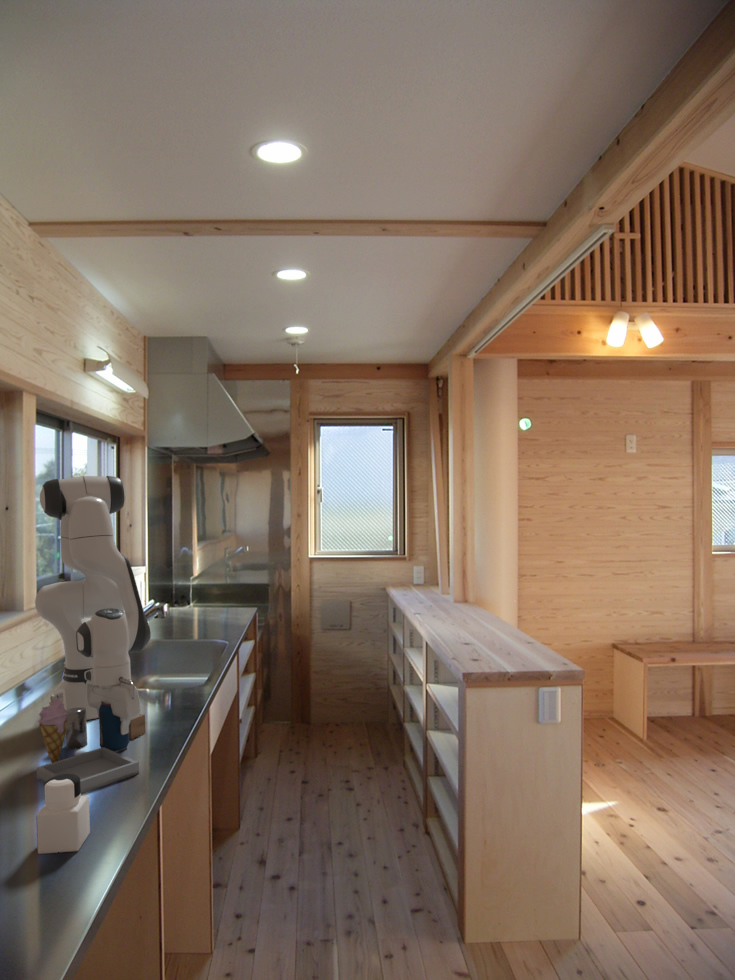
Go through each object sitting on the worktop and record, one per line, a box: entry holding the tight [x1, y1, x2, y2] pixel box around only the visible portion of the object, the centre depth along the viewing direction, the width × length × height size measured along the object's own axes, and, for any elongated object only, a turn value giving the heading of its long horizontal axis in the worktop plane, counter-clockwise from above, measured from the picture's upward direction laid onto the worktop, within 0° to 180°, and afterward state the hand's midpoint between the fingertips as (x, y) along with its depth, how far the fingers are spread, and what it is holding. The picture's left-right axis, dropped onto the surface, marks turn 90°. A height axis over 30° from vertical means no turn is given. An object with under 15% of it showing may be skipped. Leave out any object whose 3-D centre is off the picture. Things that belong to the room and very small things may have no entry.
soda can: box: [98, 702, 130, 753], centre depth 180 cm, size 7×7×12 cm
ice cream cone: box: [38, 699, 68, 763], centre depth 171 cm, size 7×6×15 cm
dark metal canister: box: [65, 708, 88, 750], centre depth 183 cm, size 5×5×9 cm
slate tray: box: [36, 747, 140, 795], centre depth 162 cm, size 16×16×3 cm
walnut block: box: [129, 713, 146, 740], centre depth 190 cm, size 5×5×5 cm
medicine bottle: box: [35, 774, 91, 855], centre depth 131 cm, size 7×7×12 cm
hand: (114, 729), depth 180 cm, fingers open, 8 cm apart
